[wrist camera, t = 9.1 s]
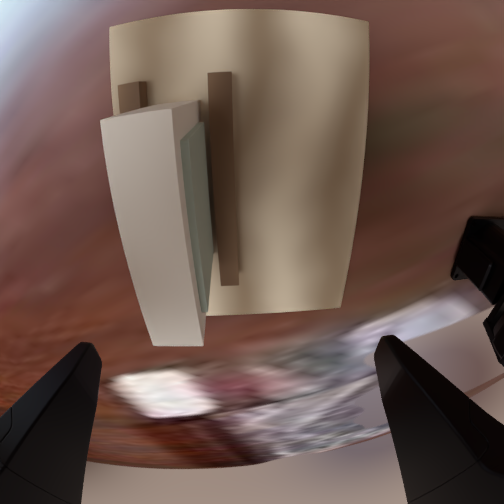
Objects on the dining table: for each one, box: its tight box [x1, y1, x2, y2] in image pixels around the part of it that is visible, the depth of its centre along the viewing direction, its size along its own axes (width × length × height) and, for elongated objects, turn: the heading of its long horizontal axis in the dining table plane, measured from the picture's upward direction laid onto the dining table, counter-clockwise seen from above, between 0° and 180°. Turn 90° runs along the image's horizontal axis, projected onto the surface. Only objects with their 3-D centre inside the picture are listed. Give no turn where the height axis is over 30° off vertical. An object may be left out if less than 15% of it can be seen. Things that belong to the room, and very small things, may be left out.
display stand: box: [110, 9, 369, 316], centre depth 17 cm, size 15×21×2 cm
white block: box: [100, 100, 214, 346], centre depth 14 cm, size 10×3×8 cm, turn 1°
